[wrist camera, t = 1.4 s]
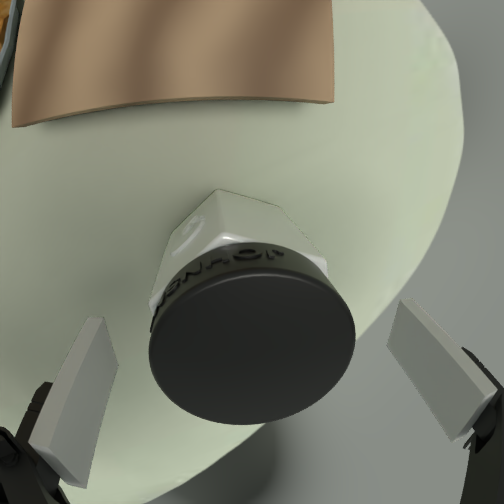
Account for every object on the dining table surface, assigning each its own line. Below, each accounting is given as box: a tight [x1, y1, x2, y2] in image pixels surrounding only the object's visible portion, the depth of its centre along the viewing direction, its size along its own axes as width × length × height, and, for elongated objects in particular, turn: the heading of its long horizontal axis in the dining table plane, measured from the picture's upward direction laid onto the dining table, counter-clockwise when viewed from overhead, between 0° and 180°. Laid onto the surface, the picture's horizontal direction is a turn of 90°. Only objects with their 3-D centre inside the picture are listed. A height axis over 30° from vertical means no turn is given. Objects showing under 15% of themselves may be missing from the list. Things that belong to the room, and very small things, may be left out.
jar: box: [148, 189, 356, 425], centre depth 16 cm, size 9×8×12 cm
